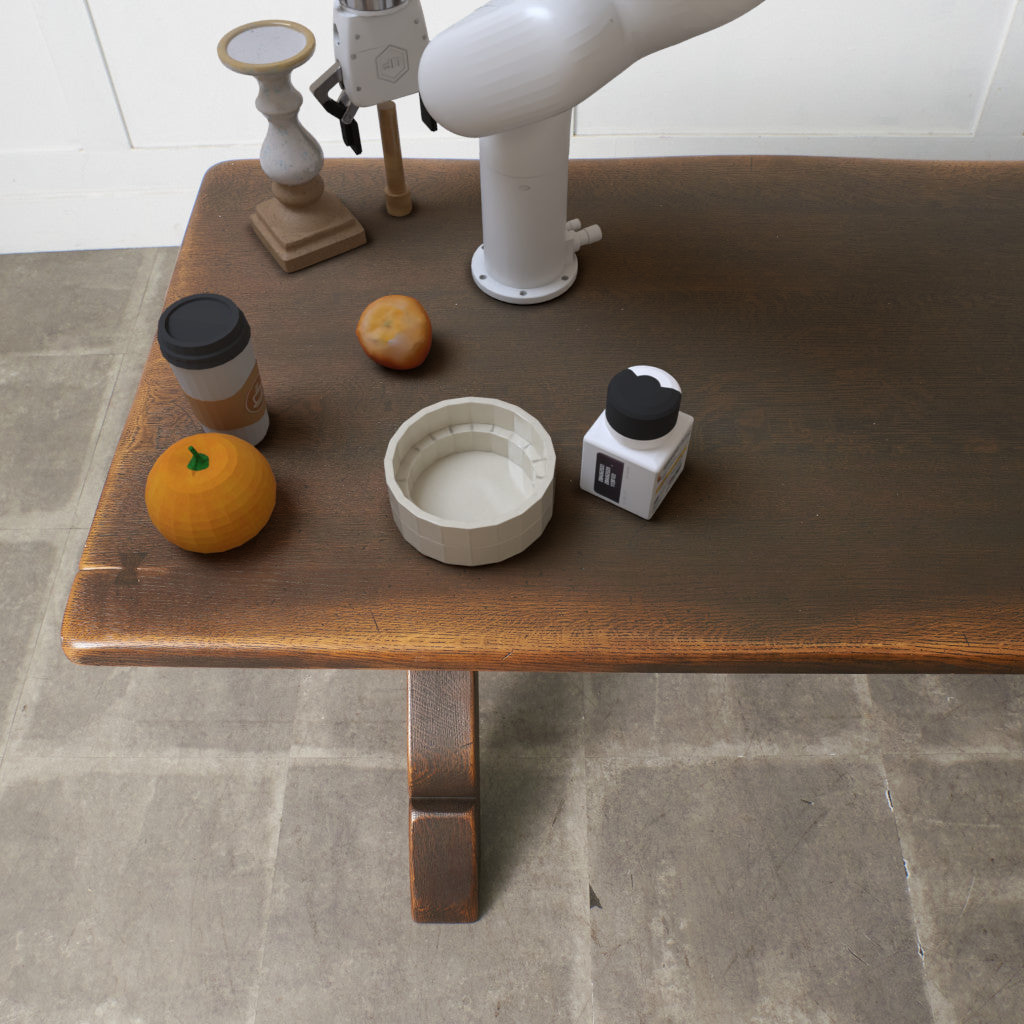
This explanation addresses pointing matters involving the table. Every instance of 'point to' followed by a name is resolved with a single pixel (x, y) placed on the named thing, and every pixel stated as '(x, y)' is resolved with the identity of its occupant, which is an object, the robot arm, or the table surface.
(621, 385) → the container
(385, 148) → the wooden pestle
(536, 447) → the bowl
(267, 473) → the fruit
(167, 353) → the coffee cup
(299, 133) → the candle holder
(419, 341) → the fruit
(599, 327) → the table surface
